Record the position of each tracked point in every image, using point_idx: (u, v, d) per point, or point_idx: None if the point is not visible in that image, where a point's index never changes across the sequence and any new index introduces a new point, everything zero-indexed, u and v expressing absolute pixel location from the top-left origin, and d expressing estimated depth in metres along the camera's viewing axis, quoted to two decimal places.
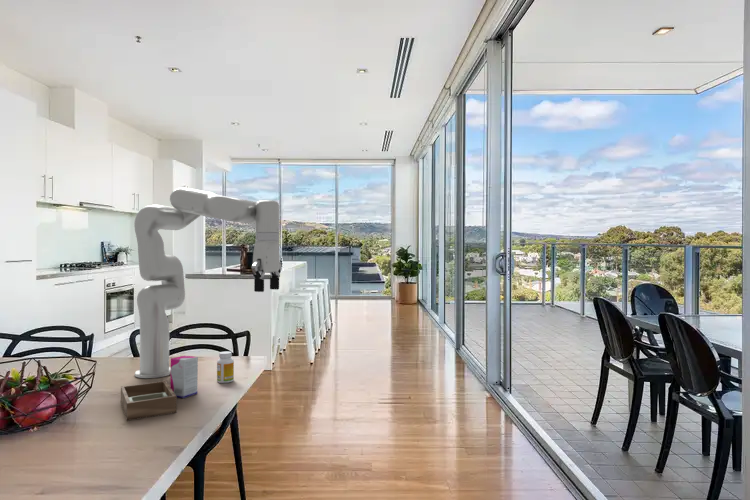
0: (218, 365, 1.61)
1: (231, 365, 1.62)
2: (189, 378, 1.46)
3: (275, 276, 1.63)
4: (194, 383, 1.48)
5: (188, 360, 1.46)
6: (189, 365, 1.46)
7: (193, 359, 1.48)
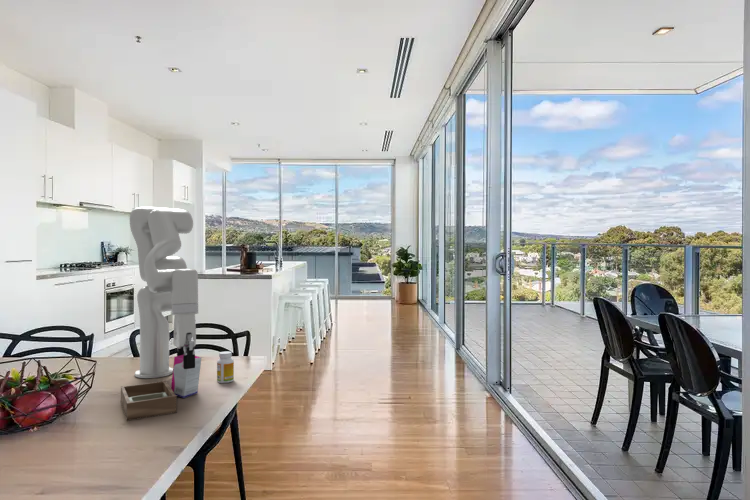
0: (218, 365, 1.61)
1: (231, 365, 1.62)
2: (190, 379, 1.46)
3: (184, 349, 1.51)
4: (195, 383, 1.48)
5: None
6: None
7: (197, 360, 1.47)
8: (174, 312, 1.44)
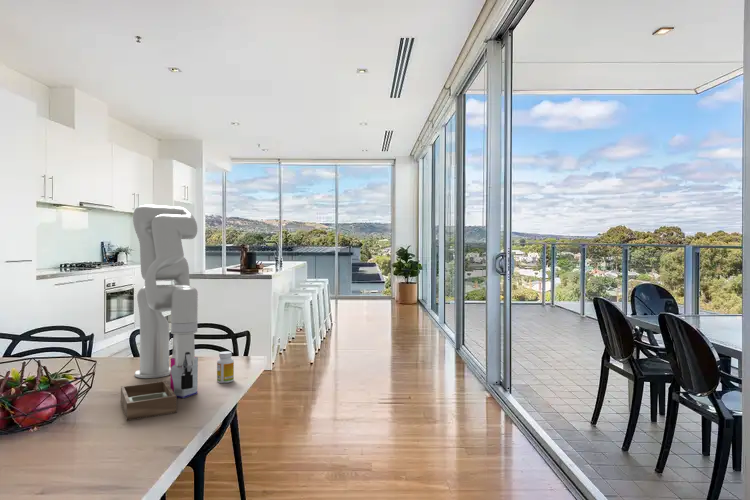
0: (218, 365, 1.61)
1: (231, 365, 1.62)
2: None
3: None
4: (194, 383, 1.48)
5: None
6: None
7: None
8: (173, 331, 1.45)
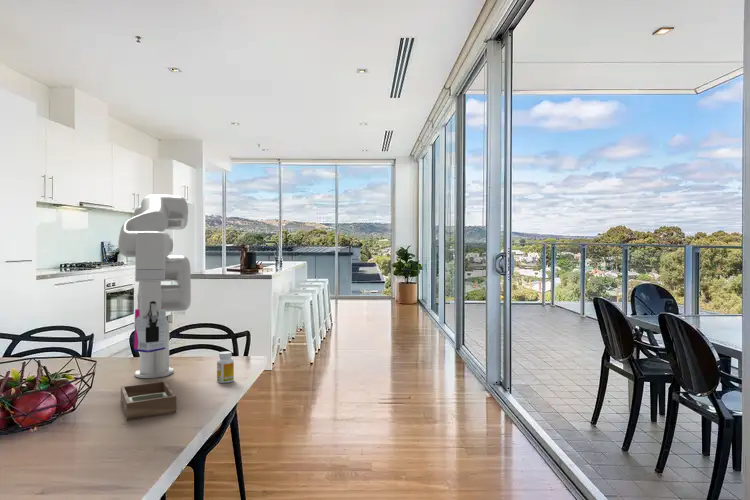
0: (218, 365, 1.61)
1: (231, 365, 1.62)
2: None
3: None
4: (161, 337, 1.34)
5: None
6: None
7: None
8: (137, 278, 1.30)
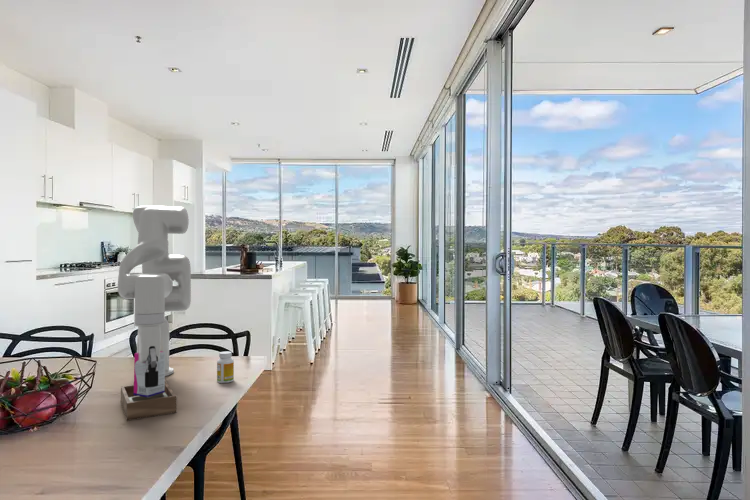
0: (218, 365, 1.61)
1: (231, 365, 1.62)
2: None
3: None
4: (161, 381, 1.33)
5: None
6: None
7: None
8: (136, 323, 1.30)
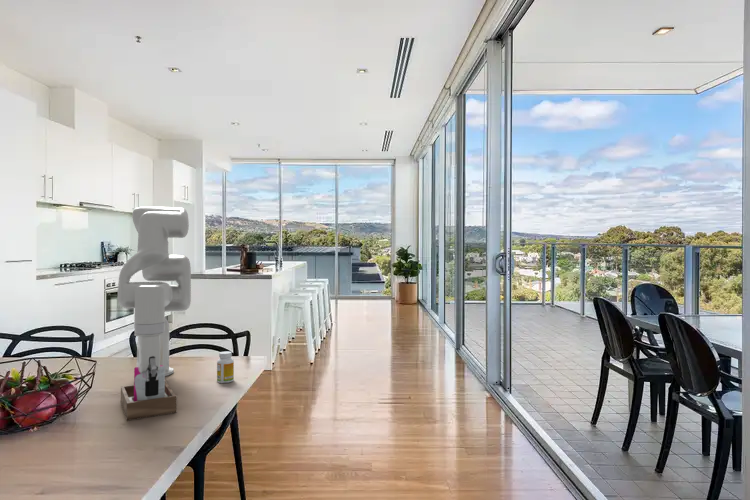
0: (218, 365, 1.61)
1: (231, 365, 1.62)
2: None
3: None
4: (160, 395, 1.34)
5: None
6: None
7: None
8: (136, 333, 1.30)
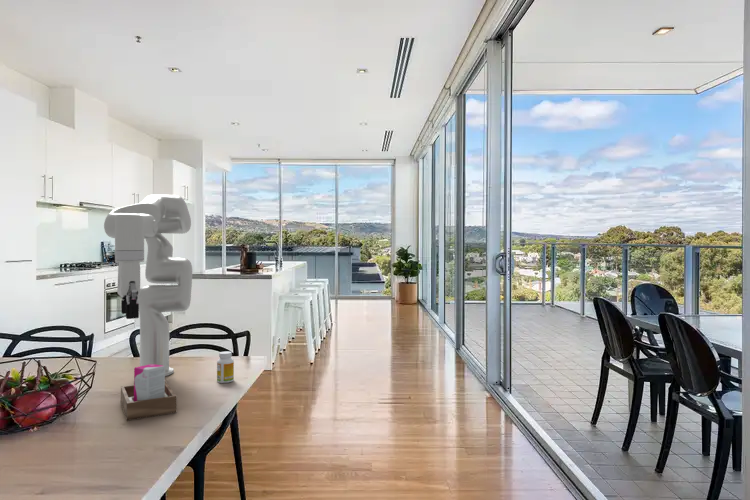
0: (218, 365, 1.61)
1: (231, 365, 1.62)
2: (154, 390, 1.32)
3: (129, 298, 1.43)
4: (160, 395, 1.34)
5: (153, 369, 1.32)
6: (155, 375, 1.32)
7: (159, 368, 1.33)
8: (117, 259, 1.36)
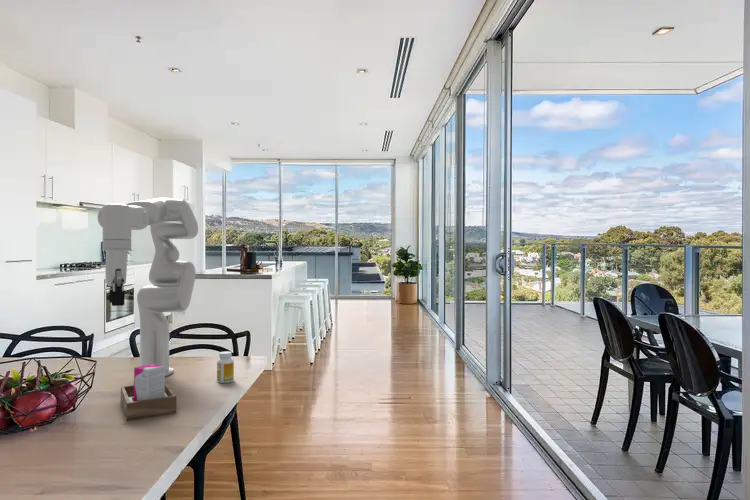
0: (218, 365, 1.61)
1: (231, 365, 1.62)
2: (154, 390, 1.32)
3: None
4: (160, 395, 1.34)
5: (153, 369, 1.32)
6: (155, 375, 1.32)
7: (159, 368, 1.33)
8: (104, 247, 1.39)
